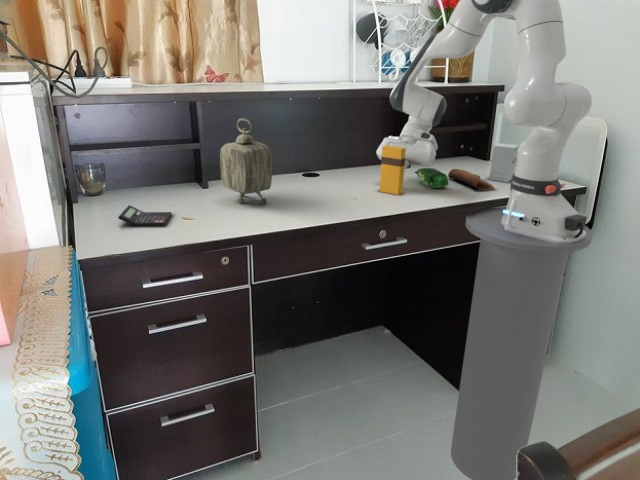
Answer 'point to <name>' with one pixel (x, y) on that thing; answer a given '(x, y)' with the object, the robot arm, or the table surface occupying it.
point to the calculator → (144, 217)
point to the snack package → (432, 177)
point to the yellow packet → (392, 169)
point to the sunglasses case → (470, 179)
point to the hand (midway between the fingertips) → (396, 171)
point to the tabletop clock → (246, 165)
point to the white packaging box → (503, 162)
